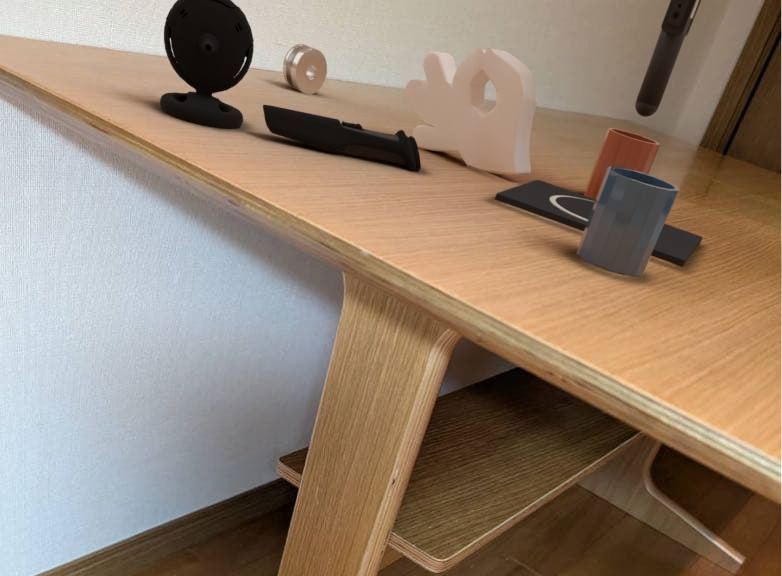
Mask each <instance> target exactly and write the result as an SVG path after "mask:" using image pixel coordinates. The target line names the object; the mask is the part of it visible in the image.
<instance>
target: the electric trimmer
mask: <svg viewBox="0 0 782 576" xmlns="http://www.w3.org/2000/svg"><path fill="white" fill-rule="evenodd" d="M262 110H263V116H264V122H265V125H266V127H267V129H268V130H269V132H270V133H271V134H273V135H277V136H279V137H282V138H285V139H289V140H292V141H296V142H297V143H302V144H304V145H307V146H309V147H312V148H314V149H317V150H321V151H324V152H326V153H329V154H333V153H337V152H345V153H348V154H354V155H358V156H363V157H366V158H370V159H376V160H380V161H384V162H389V163H394V164H398V165H402V166H405V168H407V169H408V170H409V171H410V172H414V171H415V170H416V171H417V172H420V171H421V167H422V165H421V157H420V151H419V148H418V146H417V143H416V140H415V138H414V137H413V136H412V135H410V136H407V134H406V132H405V130H403V129H399V130H398V131H396V133H394V134H391V133H384V132H379V131H375V130H371V129H367V128H363V126H362V125H361V124H360V123H354V122H347V121H343V120H342V121H340V120H339V118H333V117H329V116H325V115H320V114H319V115H318V114H314V113H309V112H305V111H301V110H300V111H299V110H296V109H290V108H285V107H280V106H276V105H269V104H263V105H262Z"/></svg>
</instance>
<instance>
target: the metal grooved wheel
mask: <svg viewBox="0 0 782 576" xmlns="http://www.w3.org/2000/svg"><path fill="white" fill-rule="evenodd" d="M282 74H283V75H282V76H283V78H284V80H285V82H286V84H287V85H288V87H290V88H292V89H295V90H297V91H299V92H300V93H302V94H307V95H308V94H309V95H314V94H316V93H317V92H318V91H320V89H321V88H322V87H323V85H324V83H325V81H326V79H327V74H328V64H327V59H326V57H325V55H324V53H323V52H322V51H321V50H320V49H317V48H314V47H311V46H309V45H307V44H304V43H299V44H295V45H293V46H292V47H291V48H289V49H288V51H287V53H286V55H285V57H284V59H283V63H282Z"/></svg>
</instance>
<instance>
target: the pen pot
mask: <svg viewBox="0 0 782 576" xmlns="http://www.w3.org/2000/svg"><path fill="white" fill-rule="evenodd" d="M660 146H661V143H660V142H658V141H656V140H654V139H652V138H650V137H646V136H643V135H641V134H637V133H634V132H631V131H627V130H623V129H620V128H616V127H615V128H614V127H608V128H607V130H606V133H605V135H604V137H603V141H602V144H601V147H600V148H599V152H598V154H597V157H596V160H595V163H594V166H593V168H592V171H591V173H590V176H589V178H588V182H587V184H586V187H585V190H584V194H583V195H584V196H587V197H590V198H592V199H595V200H596V198H597V195H598V192H599V190H600V187H601V184H602V182H603V179H604V176H605V174H606V171H607V168H608V167H610V166H615V167H622V168H627V169H631V170H635V171H638V172H642V173H645V174H648V175H649V173H650V171H651V168H652V166H653V164H654V161H655V158H656V157H657V153H658V151H659V148H660Z"/></svg>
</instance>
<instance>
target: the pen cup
mask: <svg viewBox="0 0 782 576" xmlns="http://www.w3.org/2000/svg"><path fill="white" fill-rule="evenodd" d="M680 191H681V189H680V188H679V187H678V186H677V185H675V184H673V183H671V182H670V181H667V180H664V179H662V178H660V177H657V176H655V175H654V176H653V175H651V174H649V173H648V174H645V173H642V172H638V171H635V170H631V169H627V168H622V167H615V166H610V167H608V168H607V171H606V174H605V176H604V179H603V182H602V184H601V187H600V190H599V192H598V195H597V198H596V200H595V203H594V206H593V208H592V211H591V214H590V216H589V219H588V222H587V224H586V227H585V230H584V231H582V232H583V233H582V235H581V238H580V241H579V243H578V246H577V249H576V255H577V256H578V257H579V258H581V259H582V260H583V261H585V262H587V263H589V264H591V265H593V266H595V267H597V268H600V269H602V270H605V271H607V272H611V273H615V274H618V275H622V276H628V277H641V276H643V275H644V274H645V273H646V270H647V267H649V264H650V261H651V258H652V257H653V256H652V254H653V252H654V249H655V247H656V245H657V242H658V240H659V238H660V235H661V233H662V231H663V228H664V226H665V224H667V221H668V219H669V216H670V214H671V212H672V209H673V207H674V205H675V203H676V200H677V198H678V195H679V193H680Z"/></svg>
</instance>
